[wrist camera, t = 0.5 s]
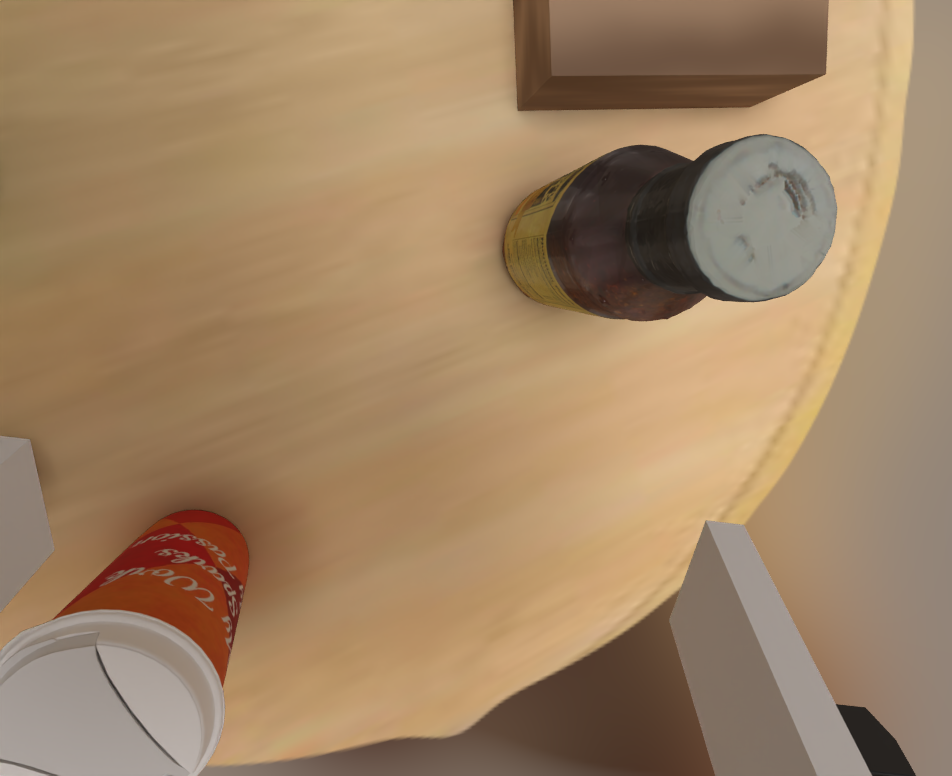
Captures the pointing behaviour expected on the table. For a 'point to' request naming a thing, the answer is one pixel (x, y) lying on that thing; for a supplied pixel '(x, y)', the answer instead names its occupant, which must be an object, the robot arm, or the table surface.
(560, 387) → the table surface
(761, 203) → the sauce bottle
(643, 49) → the walnut block
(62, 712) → the paper cup
